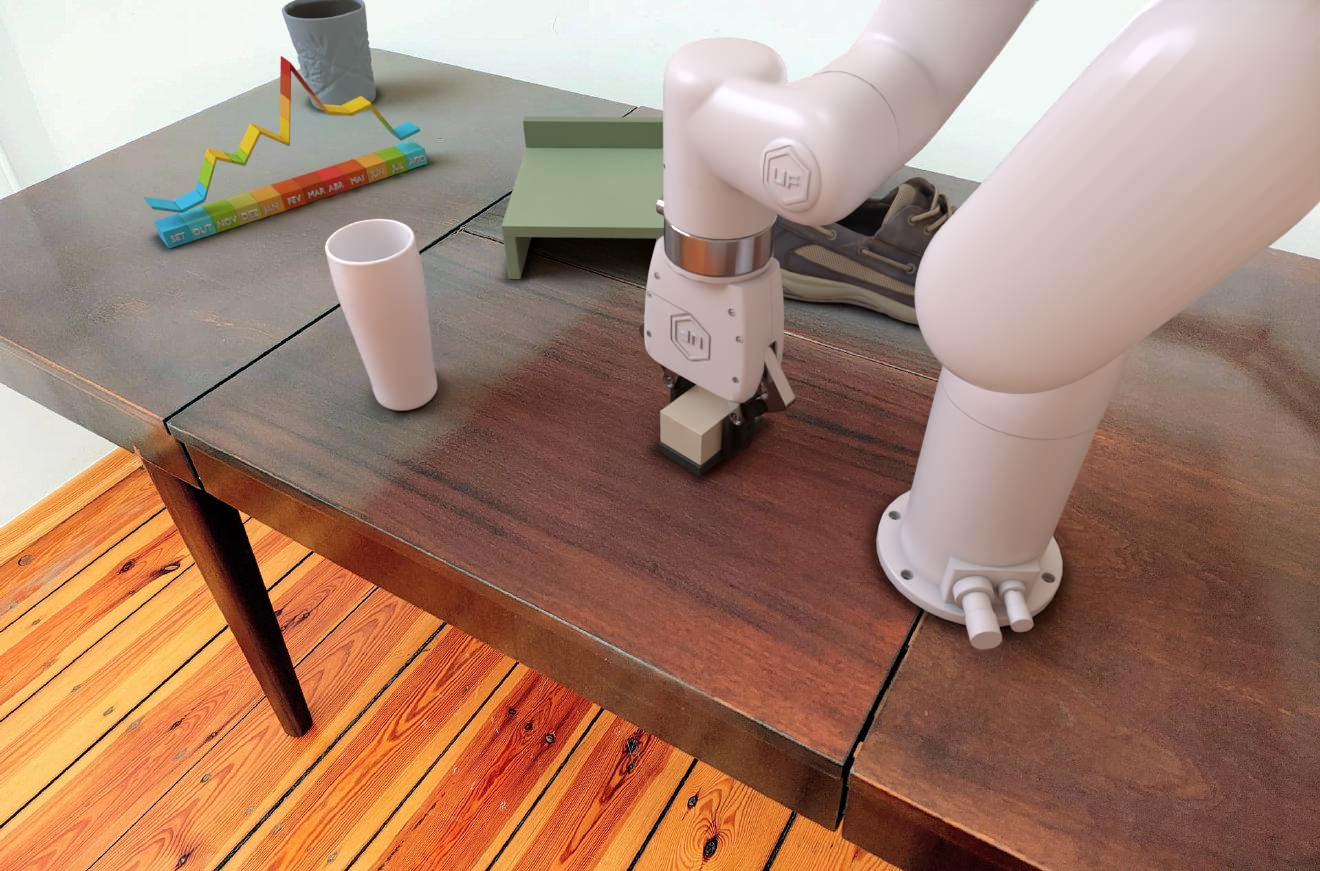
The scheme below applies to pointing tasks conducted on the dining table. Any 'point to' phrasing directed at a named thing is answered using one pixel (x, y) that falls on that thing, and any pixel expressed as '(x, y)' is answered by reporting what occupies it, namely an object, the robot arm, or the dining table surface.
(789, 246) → the boat shoe
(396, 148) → the chart
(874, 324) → the dining table surface
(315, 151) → the dining table surface
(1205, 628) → the dining table surface
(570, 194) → the shelf
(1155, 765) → the dining table surface
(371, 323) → the drinking glass
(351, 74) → the gray embossed pot
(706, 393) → the tan two-tone block
